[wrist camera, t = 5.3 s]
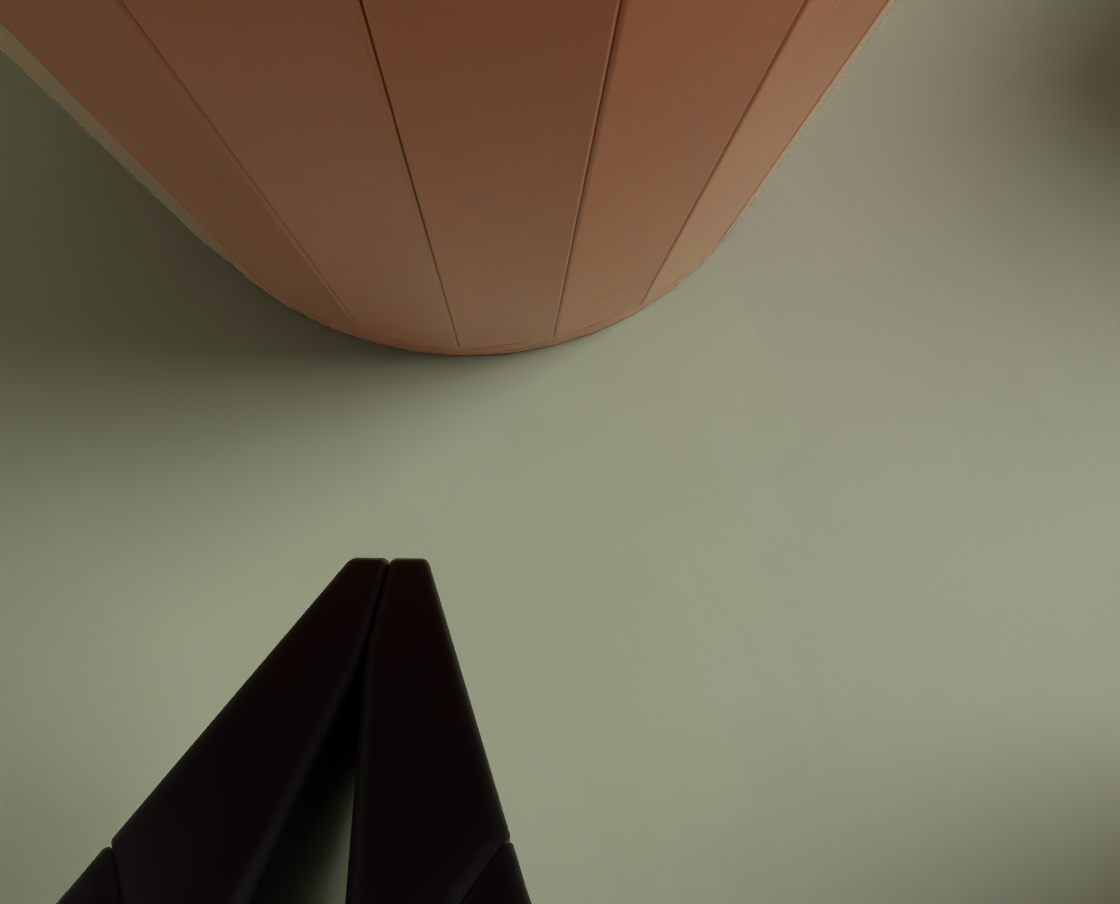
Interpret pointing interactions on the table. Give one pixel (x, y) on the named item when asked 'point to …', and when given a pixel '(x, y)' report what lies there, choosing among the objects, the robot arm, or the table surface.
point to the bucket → (448, 143)
